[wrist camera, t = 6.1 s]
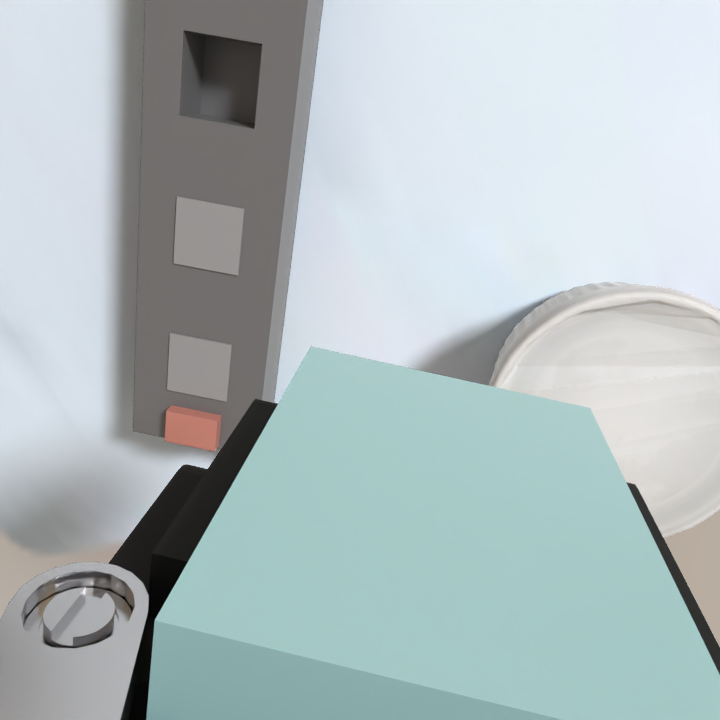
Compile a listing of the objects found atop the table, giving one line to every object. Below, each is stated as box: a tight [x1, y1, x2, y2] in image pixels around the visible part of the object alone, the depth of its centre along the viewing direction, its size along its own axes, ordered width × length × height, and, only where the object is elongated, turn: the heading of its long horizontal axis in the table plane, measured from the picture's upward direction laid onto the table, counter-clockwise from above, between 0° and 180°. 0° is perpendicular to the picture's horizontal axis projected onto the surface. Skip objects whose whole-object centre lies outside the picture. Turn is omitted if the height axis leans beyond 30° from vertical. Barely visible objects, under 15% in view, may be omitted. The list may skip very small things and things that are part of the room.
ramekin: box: [488, 282, 720, 538], centre depth 28 cm, size 11×11×5 cm
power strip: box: [133, 0, 323, 451], centre depth 26 cm, size 30×6×4 cm, turn 171°
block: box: [146, 347, 720, 720], centre depth 9 cm, size 4×4×8 cm
